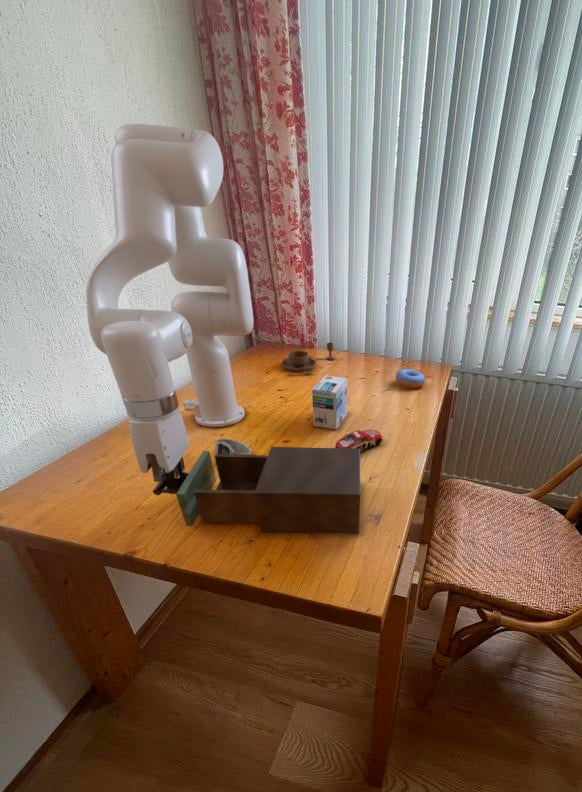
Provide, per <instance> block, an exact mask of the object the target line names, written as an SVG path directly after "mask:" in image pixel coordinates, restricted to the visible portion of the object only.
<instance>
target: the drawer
mask: <svg viewBox="0 0 582 792" xmlns="http://www.w3.org/2000/svg"><path fill="white" fill-rule="evenodd" d="M211 456H212V455H211V452H210V450H202V452H201V454H200V455H199V456H198V458H197V460H196V461H195V463H194V465H193V466H192V468H191V470H190V471H189V472H185V475H186V479H185V481H184V482H183V484H182V485H181V487H180V489H167V487H166V484H165V481H163V482H157V484H156V485H155V487H154V488H153V490H152V494H154V495H155V496H160V495H162V494H169V493H176V494H175V495H176V499H177V502H178V504H179V508H180V512H181V514H182V517H183V520H184V524H185V526H186V527H194V526H195V523H196V521H197V519H198V518H199V516H200V518H201V522H202V523H259V518H258V512H257V506H256V500H255V494H254V493H255V490H256V487H257V484H258V482H259V479H260V476H261V473H262V471H263V468H264V465H265V462H266V460H267V457H268V455H267V454H266V455H264V454H263V455H262V454H261V455H260V454H251V455H219V454H216V453H215V454H214V460H215V465H216V469H217V473H218V478H219V483H218V484H217V486H216V489H213V488H214V486H215V485H216V482H217V477H216V473H215V470H214V463H213V461H212V457H211Z"/></svg>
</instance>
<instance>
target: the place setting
mask: <svg viewBox="0 0 582 792" xmlns="http://www.w3.org/2000/svg"><path fill="white" fill-rule="evenodd" d="M326 350H327V351H328V356H327V357H326V360H328V361H334V360H335V358H334V357H333V355H332V351H334V343H333V342H327V343H326ZM281 365H282V367H283V368H284V369H285V370H287V371H290V372H293V373H289V374H287V376H293V375H300V374H302V375H310V374H312V373H313V371H312V370H313V369H314V368H315V367H316V365H317V361H316V360H315V359H314V358H313V356H311V355H310V356H309V353H308V352H307V351H303V350H293V351H289V352H288V358H285V359H283V360H282V361H281Z"/></svg>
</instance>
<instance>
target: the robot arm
mask: <svg viewBox="0 0 582 792" xmlns="http://www.w3.org/2000/svg"><path fill="white" fill-rule="evenodd" d="M114 141H115V145H114V146H113V147H112V150H111V177H112V194H113V206H114V210H113V211H114V225H115V238H114V239H113V242H112V243H111V244H110V245H109V246H108V247H107V248H106V249H105V250H104V251H103V252H102V253H101V255H100V256H99V258H97V261H96V263H95V264H94V266H93V268H92V269H91V272H90V273H89V275H88V277H87V282H86V287H85V299H86V301H85V302H86V314H87V324H88V330H89V334H90V337H91V340H92V342H93V344H94V345H95V347H96V348H97V349H98V350H99V352H101V353H103V354H104V355H106V357H107V360H108V362H109V365H110V368H111V370H112V373H113V377H114V379H115V382H116V385H117V388H118V390H119V393H120V396H121V399H122V402H123V404H124V408H125V410H126V413H127V416H128V417H129V420H128V426H129V434H130V438H131V443H132V447H133V451H134V455H135V458H136V461H137V465H138V467H139V470H140V471H141V473H142V474H146V473H148V472H149V471H150V470H151V471H152V477H153V481H154V483H159V482H163V481H165V484H166V487H165V488H166V489H180V487H181V485H182V484H183V482H184V481H185V479H186V475H185V473H186V472H185V470H186V467H185V460H184V455H185V454H186V452H187V451H188V449H189V446H190V439H189V435H188V431H187V427H186V424H185V422H184V418H183V415H182V413H181V410H180V408H181V406H180V403H179V398H178V396H177V392H176V389H175V386H174V381H173V377H172V374H171V370H170V369H171V368H170V366H169V363H170V362H172V361H175V360H177V359H179V358H181V357H183V356H184V355H186V358H187V363H188V367H189V371H190V376H191V380H192V384H193V389H194V393H195V397H196V400H183V402H182V405H183V407H184V411H185V412H194V421H195V422H196V423H197V424H198V425H200V426H204V427H208V428H221V427H227V426H228V427H229V426H231V425H234V424H236V423H238V422H240V421H241V420H242V419H243V418H244V417H245V414H246V413H245V409H244V408H243V407H242V406H241V405H239V404H237V403H238V401H237V397H236V390H235V385H234V380H233V373H232V366H231V361H230V355H229V352H228V350H227V347H226V346H225V345H224V343H223V342H222V341H221V339H219V337H218V336H222V337H223V336H225V337H228V336H229V337H231V336H232V337H237V336H238V337H240V336H241V337H242V336H247V335H250V334H251V333H252V331H253V329H254V312H253V304H252V303H253V302H252V297H251V289H250V281H249V274H248V267H247V263H246V262H247V261H246V257H245V254H244V252H243V249H242V247H241V246H240V244H239V243H238V242H236V241H235V240H234V239H230V238H224V237H209V236H208V235H207V233H206V229H205V224H204V218H203V212H202V209H201V208H205V207H206V208H207V207H208V206H210V205H212V203H213V202H214V201H215V198H216V196H217V194H218V192H219V190H220V187H221V185H222V183H223V178H224V158H223V153H222V151H221V148H220V146H219V144H218V141H217V140H216V139H215V137H214V136H213V135H212V134H211V133H210V132H209V131H206V130H203V129H196V128H187V127H176V126H167V125H161V124H160V125H159V124H148V123H147V124H146V123H128V124H124V125H120V126H118V128H117V129H116V130H115V135H114ZM166 263H168V268H169V270H170V274H171V275H172V277H173V278H174V280H175V281H177V282H178V283H180V284H183V285H188V286H201V287H224V288H225V289H226V290H227V292H222V291H221V292H220V291H219V292H218V291H199V290H198V291H197V290H193V291H192V290H191V291H189V290H188V291H183V292H179V293H177V294H176V295H174V297H173V298H172V300H171V303H170V310H165V309H140V308H139V309H137V308H118V304H119V299H120V295H121V293H122V291H123V290H124V288H125V287H126V286H127V284H129V282H131V281H132V280H133V279H135V278H136V277H139V276H141V275H142V274H145V273H147V272H149V271H151V270H153V269H155V268H157V267H159V266H161V265H164V264H166ZM168 494H169V495H176V493H168Z"/></svg>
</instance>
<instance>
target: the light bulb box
mask: <svg viewBox="0 0 582 792" xmlns="http://www.w3.org/2000/svg"><path fill="white" fill-rule="evenodd" d="M311 397H312V399H311V400H312V414H313V415H312V416H313V417H312V418H313V426H314V427H317V428H323V429H324V428H325V429H330V430H338V428H339V427H340V425H341V424H342V422H343V421H344V419H345V418H346V417H347V415H348V378H346V377H345V378H344V377H338V376H332V375H324V376H323V377H322V378H321V379H320V380H319V381H318V382H317V383H316V384H315V385H314V387H313V388H311Z"/></svg>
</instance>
